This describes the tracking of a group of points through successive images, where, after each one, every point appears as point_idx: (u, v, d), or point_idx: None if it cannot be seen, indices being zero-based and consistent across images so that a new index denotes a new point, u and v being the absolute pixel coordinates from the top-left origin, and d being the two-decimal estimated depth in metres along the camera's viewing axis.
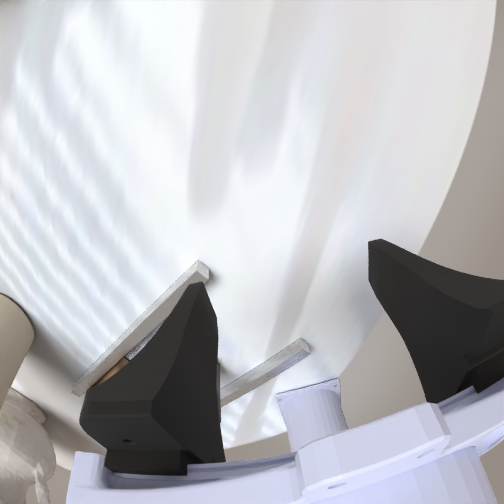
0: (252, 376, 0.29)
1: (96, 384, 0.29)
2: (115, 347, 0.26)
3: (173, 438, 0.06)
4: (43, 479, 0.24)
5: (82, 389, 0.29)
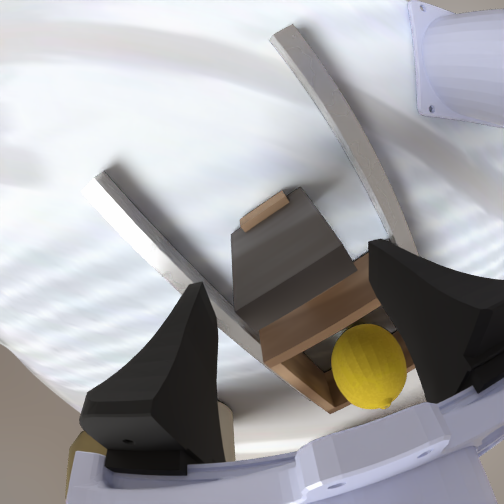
0: (340, 137, 0.15)
1: None
2: None
3: (173, 438, 0.06)
4: None
5: None
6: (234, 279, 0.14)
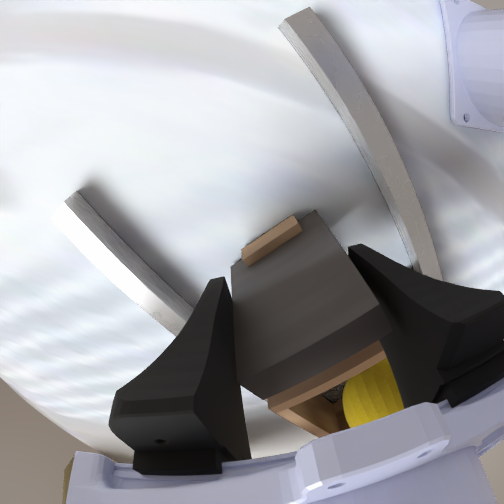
0: (365, 150, 0.12)
1: None
2: None
3: (211, 435, 0.05)
4: None
5: None
6: (236, 334, 0.11)
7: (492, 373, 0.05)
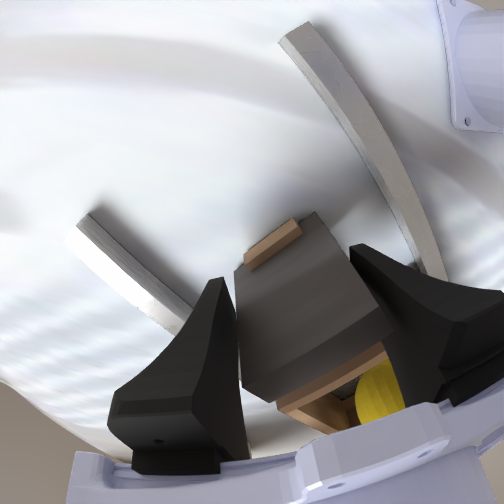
0: (369, 162, 0.12)
1: None
2: None
3: (210, 435, 0.05)
4: None
5: None
6: (240, 339, 0.11)
7: (493, 372, 0.05)
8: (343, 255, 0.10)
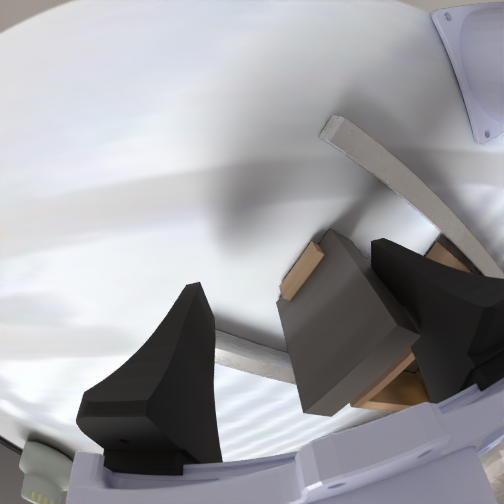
0: (420, 212, 0.14)
1: None
2: None
3: (168, 438, 0.06)
4: None
5: None
6: (294, 369, 0.12)
7: None
8: (361, 275, 0.11)
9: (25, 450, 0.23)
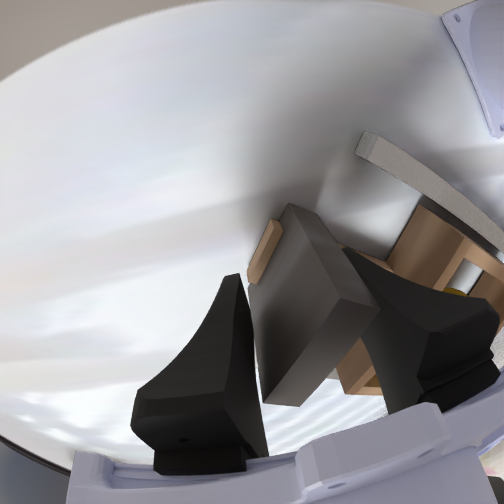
0: (449, 211, 0.14)
1: None
2: None
3: (239, 432, 0.05)
4: None
5: None
6: (257, 356, 0.11)
7: (476, 383, 0.05)
8: (310, 246, 0.10)
9: None
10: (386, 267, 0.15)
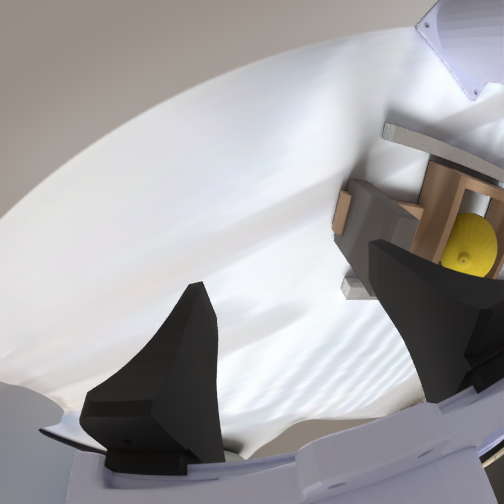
0: None
1: None
2: None
3: (173, 438, 0.06)
4: None
5: None
6: (357, 274, 0.18)
7: None
8: (374, 198, 0.16)
9: None
10: (418, 207, 0.21)
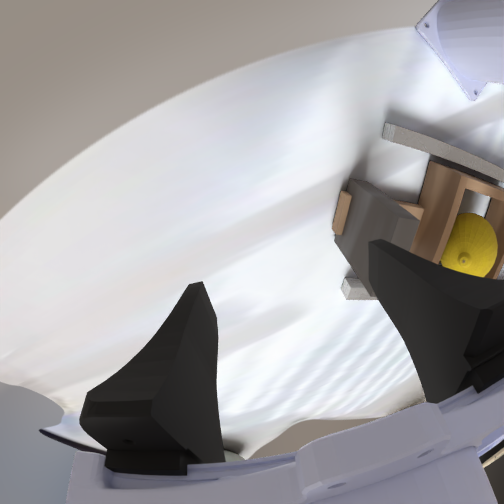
0: None
1: None
2: None
3: (173, 438, 0.06)
4: None
5: None
6: (357, 274, 0.18)
7: None
8: (374, 198, 0.16)
9: None
10: (419, 207, 0.21)
